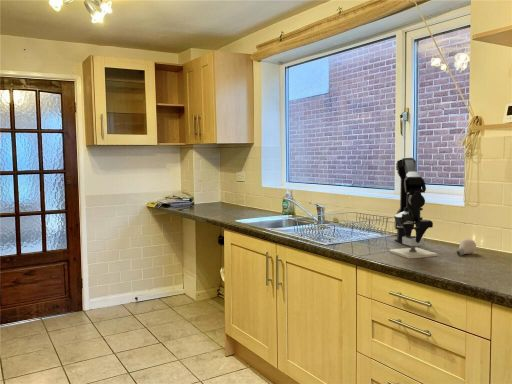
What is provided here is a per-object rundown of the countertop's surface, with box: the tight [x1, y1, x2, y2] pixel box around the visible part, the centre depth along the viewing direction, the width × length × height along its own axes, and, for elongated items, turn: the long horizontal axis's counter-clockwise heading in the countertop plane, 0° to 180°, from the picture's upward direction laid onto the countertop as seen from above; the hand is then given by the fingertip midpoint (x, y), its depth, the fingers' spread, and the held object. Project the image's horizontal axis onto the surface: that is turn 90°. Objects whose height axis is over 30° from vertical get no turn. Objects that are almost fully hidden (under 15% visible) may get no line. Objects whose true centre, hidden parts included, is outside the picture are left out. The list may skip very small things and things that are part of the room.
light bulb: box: [455, 238, 477, 257], centre depth 198 cm, size 7×7×11 cm
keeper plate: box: [388, 246, 438, 259], centre depth 199 cm, size 14×14×6 cm
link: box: [402, 235, 425, 247], centre depth 199 cm, size 6×6×3 cm
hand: (412, 241), depth 199 cm, fingers closed on link, 6 cm apart
